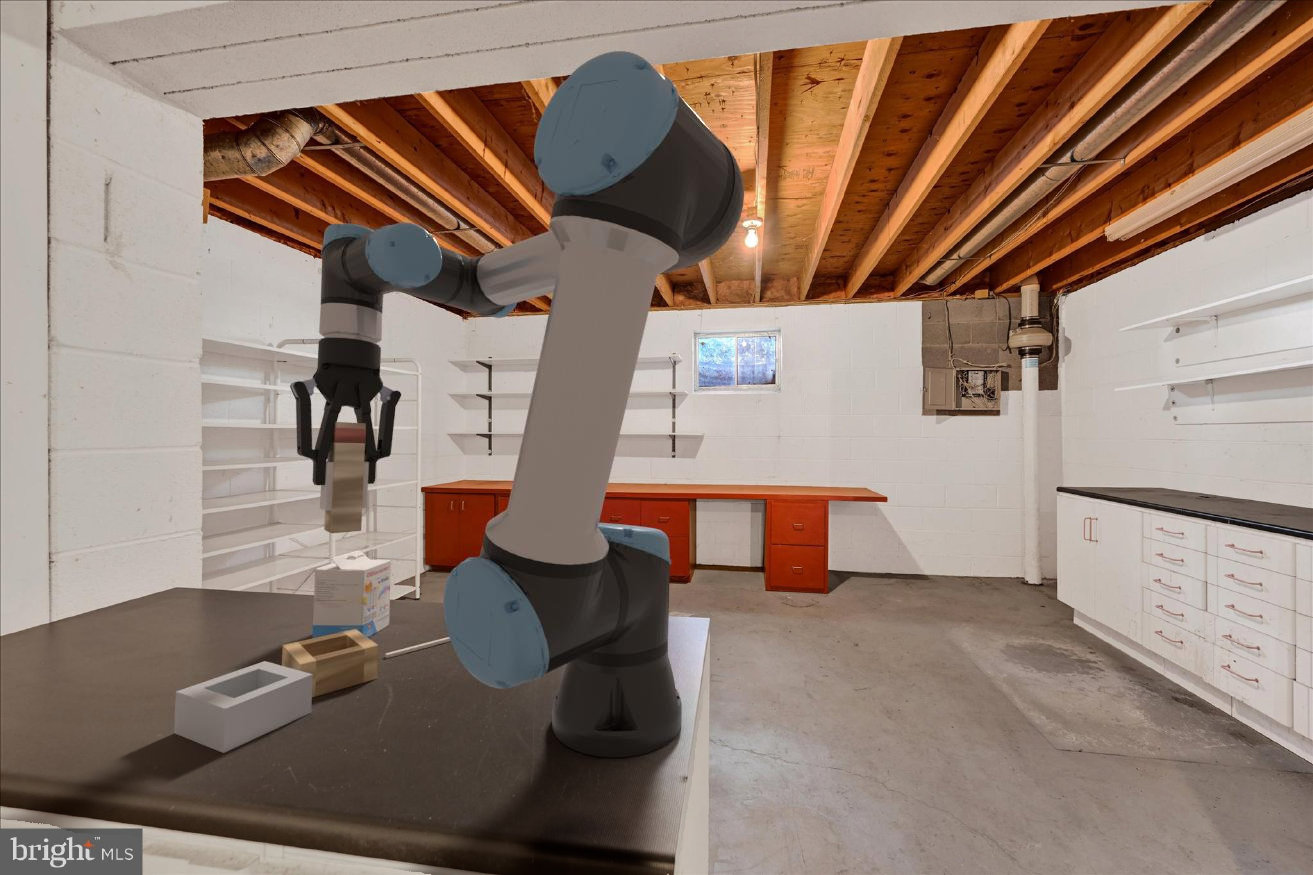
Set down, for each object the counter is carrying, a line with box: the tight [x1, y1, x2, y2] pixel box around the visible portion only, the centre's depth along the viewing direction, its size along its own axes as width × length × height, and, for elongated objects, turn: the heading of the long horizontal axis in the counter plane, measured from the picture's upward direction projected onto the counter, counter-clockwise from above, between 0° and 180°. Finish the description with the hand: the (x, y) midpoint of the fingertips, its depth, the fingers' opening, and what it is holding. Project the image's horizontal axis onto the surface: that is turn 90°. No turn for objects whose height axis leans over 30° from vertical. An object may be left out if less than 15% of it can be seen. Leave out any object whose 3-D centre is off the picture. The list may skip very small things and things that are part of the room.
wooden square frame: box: [281, 629, 379, 698], centre depth 70 cm, size 9×9×4 cm
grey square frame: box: [173, 660, 313, 754], centre depth 59 cm, size 9×9×4 cm
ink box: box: [311, 549, 392, 639], centre depth 88 cm, size 9×8×13 cm
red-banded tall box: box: [323, 421, 366, 534], centre depth 72 cm, size 4×4×15 cm
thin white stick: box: [384, 636, 451, 659], centre depth 81 cm, size 1×10×1 cm, turn 138°
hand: (343, 508), depth 72 cm, fingers closed on red-banded tall box, 4 cm apart
